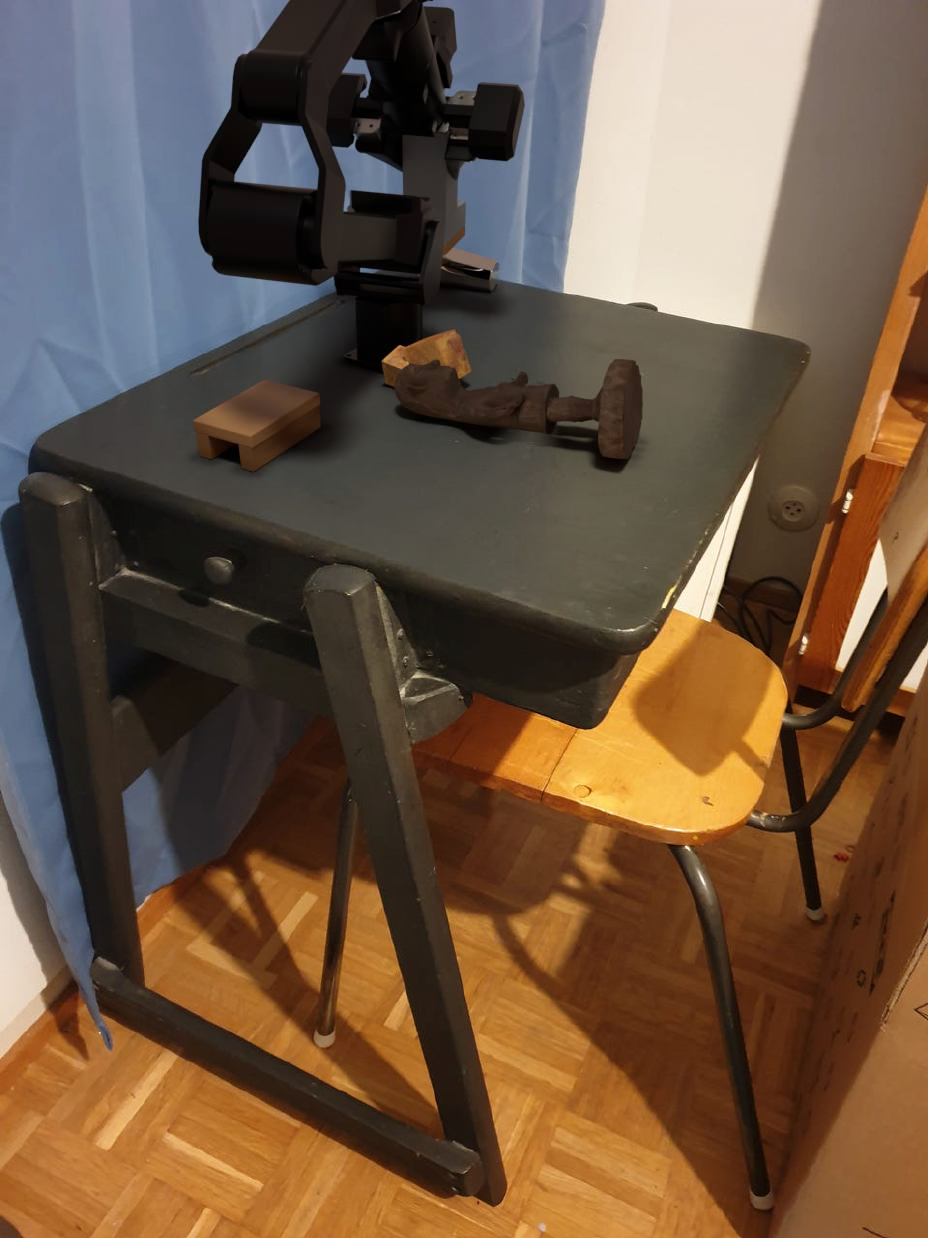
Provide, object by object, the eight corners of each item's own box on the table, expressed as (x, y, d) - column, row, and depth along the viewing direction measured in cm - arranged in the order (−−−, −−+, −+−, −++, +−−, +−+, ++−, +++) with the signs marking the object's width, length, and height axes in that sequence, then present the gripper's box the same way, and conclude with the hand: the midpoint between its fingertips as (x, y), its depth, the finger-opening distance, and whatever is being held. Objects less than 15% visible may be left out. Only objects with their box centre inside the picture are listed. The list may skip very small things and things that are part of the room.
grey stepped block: (445, 255, 93) (447, 121, 86) (403, 251, 94) (401, 117, 86) (465, 235, 99) (468, 108, 92) (425, 231, 100) (425, 105, 93)
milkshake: (495, 245, 101) (410, 227, 103) (485, 296, 103) (401, 277, 105) (505, 248, 105) (423, 230, 107) (495, 297, 107) (414, 278, 109)
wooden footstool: (268, 413, 78) (264, 379, 76) (322, 427, 76) (319, 392, 74) (198, 455, 72) (192, 419, 70) (255, 472, 70) (250, 436, 68)
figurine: (627, 353, 67) (376, 352, 74) (620, 459, 68) (374, 449, 75) (647, 364, 75) (420, 362, 82) (640, 459, 77) (417, 449, 83)
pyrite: (412, 386, 86) (398, 342, 85) (472, 373, 83) (459, 326, 81) (384, 402, 83) (369, 356, 81) (446, 389, 79) (431, 340, 77)
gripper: (528, -27, 76) (542, 106, 91) (314, -37, 79) (362, 93, 95) (502, 95, 75) (520, 210, 90) (285, 80, 78) (338, 193, 93)
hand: (434, 173), depth 92 cm, fingers closed on grey stepped block, 4 cm apart
